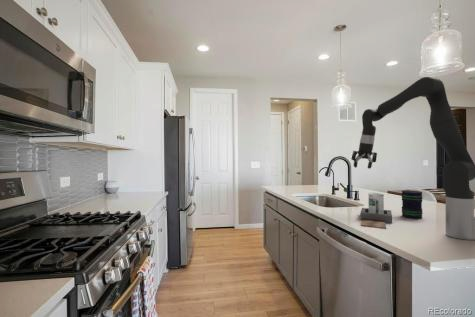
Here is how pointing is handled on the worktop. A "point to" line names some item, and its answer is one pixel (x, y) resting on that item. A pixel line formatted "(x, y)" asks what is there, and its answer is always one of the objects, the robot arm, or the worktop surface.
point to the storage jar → (412, 204)
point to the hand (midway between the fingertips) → (362, 167)
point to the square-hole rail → (376, 216)
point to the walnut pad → (373, 224)
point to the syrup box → (376, 203)
